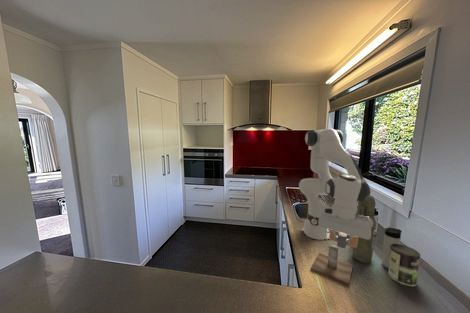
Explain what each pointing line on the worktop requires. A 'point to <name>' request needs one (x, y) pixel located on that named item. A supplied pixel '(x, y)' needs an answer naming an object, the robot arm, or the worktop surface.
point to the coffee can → (403, 264)
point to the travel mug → (389, 243)
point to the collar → (343, 239)
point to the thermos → (364, 245)
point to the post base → (332, 273)
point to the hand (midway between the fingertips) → (341, 241)
